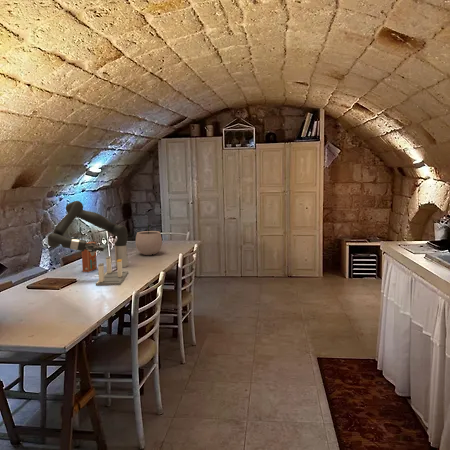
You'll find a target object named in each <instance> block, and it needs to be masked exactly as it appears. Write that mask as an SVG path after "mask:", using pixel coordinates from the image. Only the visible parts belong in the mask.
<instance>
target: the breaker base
mask: <svg viewBox="0 0 450 450" xmlns="http://www.w3.org/2000/svg"><path fill="white" fill-rule="evenodd" d="M105 259H106V260H105V261H106V262H105V263H106V272H105V271H104V270H105V269H104V268H105V266H104V265H105V264H104V262H102V263H101V262H99V263H98V264H97V271H98V280H97V282H95V286H97V287H98V286H99V287H101V286H121V285H122V283H123V281H125V279H126V278H127V276H128V275H129V271H125V270H124V271H123V270H122V277H118V271H113V270H112V256H111V255H110V256H109V255H108V256H106V257H105Z"/></svg>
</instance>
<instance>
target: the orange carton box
mask: <svg viewBox="0 0 450 450" xmlns="http://www.w3.org/2000/svg"><path fill="white" fill-rule="evenodd" d="M86 243H90V244H91V243H94V244H96V243H97V242H96V241H88V242H87V241H86ZM96 245H97V244H96ZM97 260H98V259H97V251H95V252H89V250H84V251H81V264H82V266H81V267H82V272H83V273H89V272H93V271H94V270H95V271H96V270H98V263H97Z"/></svg>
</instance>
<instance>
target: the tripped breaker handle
mask: <svg viewBox="0 0 450 450" xmlns="http://www.w3.org/2000/svg"><path fill="white" fill-rule="evenodd" d="M116 268H117V272H118V277H122V271H123V267H122V259H118V260H117V267H116Z"/></svg>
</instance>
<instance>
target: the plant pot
mask: <svg viewBox="0 0 450 450" xmlns="http://www.w3.org/2000/svg"><path fill="white" fill-rule="evenodd" d="M150 226H151V224H149V223H147V231H146V230H145V231H138V232H136V236H135V247H136V249H137V250H138V252H139V253H141V254H142V255H145V256H152V254H153V255H155V254H156V255H157V253H158V252H159V251H160V250H161V248H162V244H163V238H162V235H161V231H157V230H151V229H153V226H151V227H150Z"/></svg>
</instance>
